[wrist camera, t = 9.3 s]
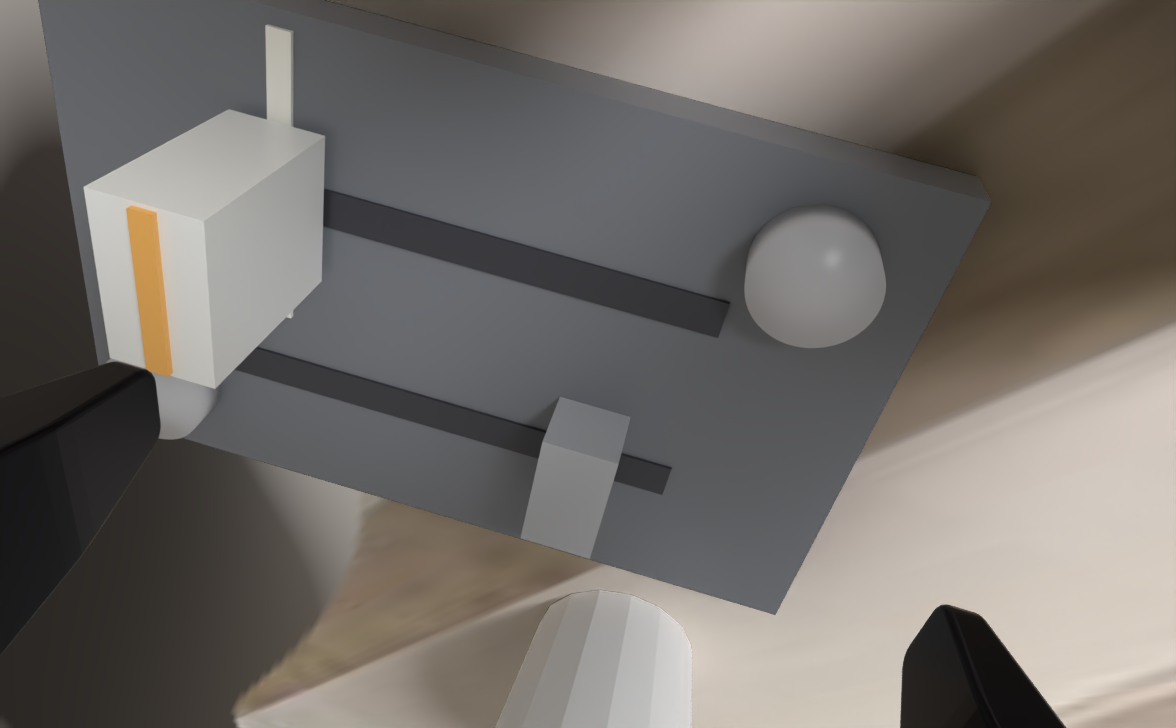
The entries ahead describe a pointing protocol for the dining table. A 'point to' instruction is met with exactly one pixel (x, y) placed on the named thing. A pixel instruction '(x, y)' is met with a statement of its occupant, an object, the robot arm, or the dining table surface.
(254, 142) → the fader
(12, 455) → the robot arm
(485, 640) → the dining table surface
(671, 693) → the white cup
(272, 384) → the console
